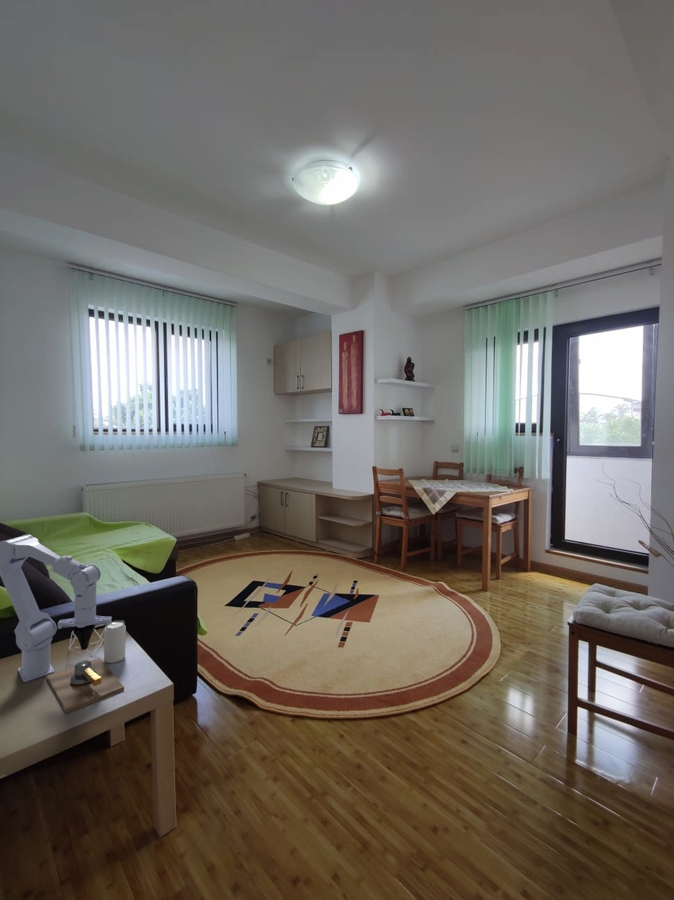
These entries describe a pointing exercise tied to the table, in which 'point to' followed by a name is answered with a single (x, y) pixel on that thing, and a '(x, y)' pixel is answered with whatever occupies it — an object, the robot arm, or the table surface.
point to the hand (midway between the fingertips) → (84, 648)
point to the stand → (83, 686)
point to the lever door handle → (85, 674)
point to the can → (114, 642)
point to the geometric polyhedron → (91, 643)
